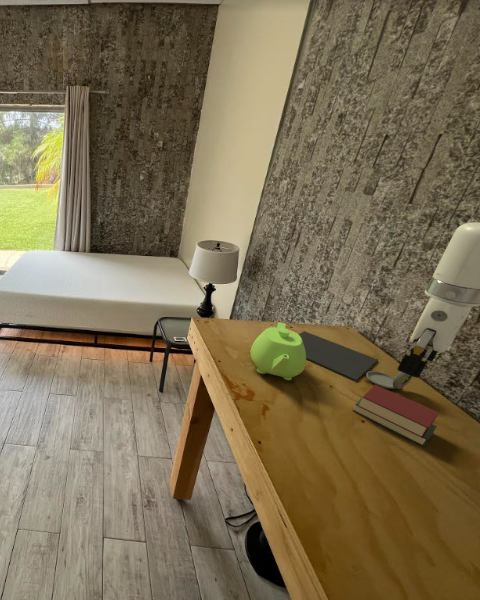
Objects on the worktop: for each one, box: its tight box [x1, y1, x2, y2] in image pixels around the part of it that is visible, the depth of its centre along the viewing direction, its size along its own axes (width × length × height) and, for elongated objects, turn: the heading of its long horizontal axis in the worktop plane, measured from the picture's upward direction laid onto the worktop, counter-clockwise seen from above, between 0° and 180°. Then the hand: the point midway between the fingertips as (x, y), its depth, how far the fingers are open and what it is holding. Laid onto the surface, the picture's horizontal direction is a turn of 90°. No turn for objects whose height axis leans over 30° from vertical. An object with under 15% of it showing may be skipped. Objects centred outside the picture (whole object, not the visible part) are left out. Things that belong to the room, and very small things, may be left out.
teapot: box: [249, 321, 307, 381], centre depth 88 cm, size 20×13×13 cm
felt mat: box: [298, 330, 379, 382], centre depth 97 cm, size 20×16×1 cm
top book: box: [359, 384, 440, 438], centre depth 71 cm, size 11×7×3 cm
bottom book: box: [352, 396, 438, 448], centre depth 72 cm, size 12×6×2 cm, turn 33°
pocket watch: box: [365, 370, 414, 390], centre depth 82 cm, size 8×8×10 cm
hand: (415, 365), depth 66 cm, fingers open, 9 cm apart
